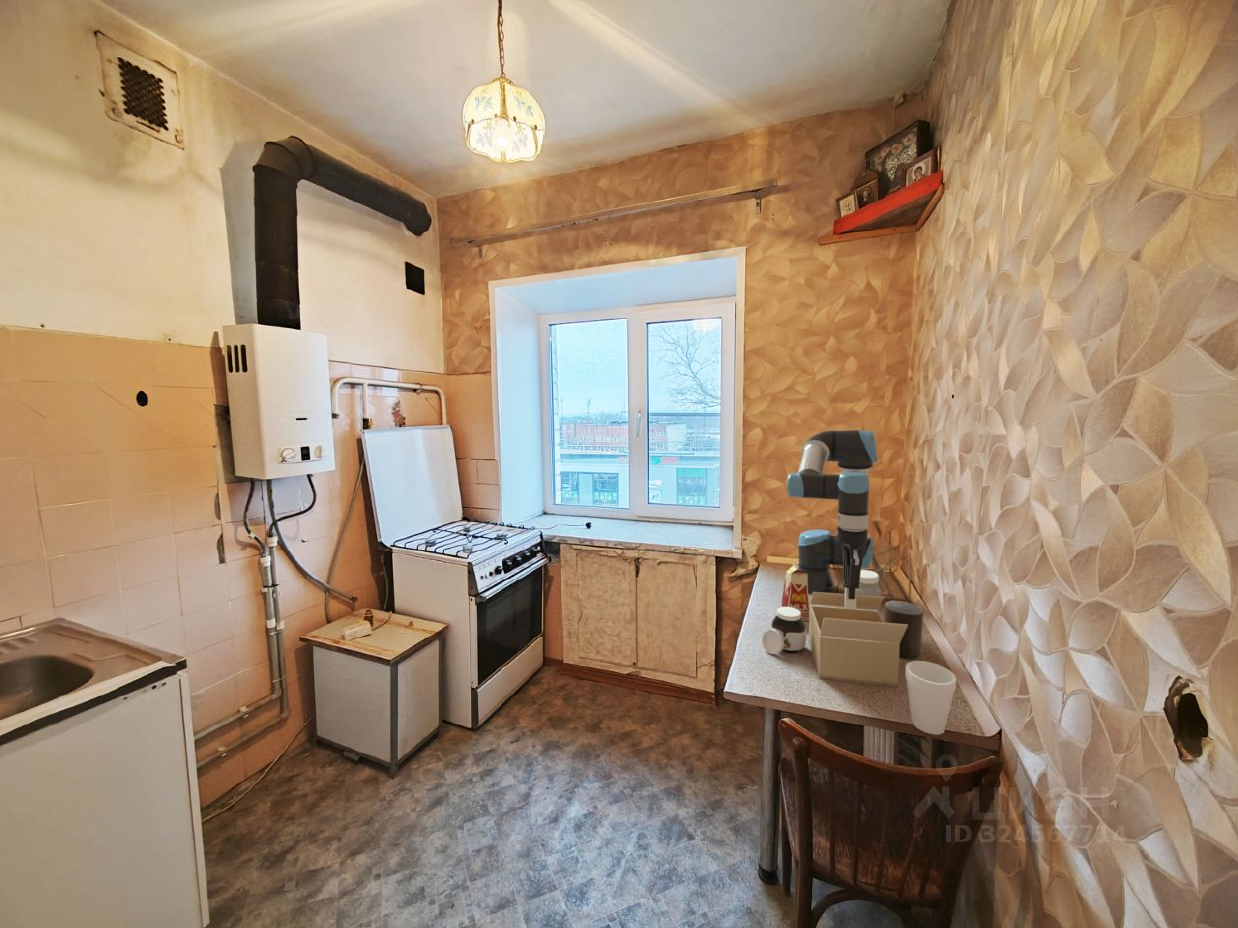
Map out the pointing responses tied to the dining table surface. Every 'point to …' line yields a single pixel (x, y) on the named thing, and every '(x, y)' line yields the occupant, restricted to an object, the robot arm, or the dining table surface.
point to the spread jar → (785, 632)
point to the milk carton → (796, 592)
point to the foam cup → (929, 695)
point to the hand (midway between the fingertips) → (850, 607)
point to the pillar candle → (913, 634)
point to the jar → (869, 585)
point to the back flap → (839, 600)
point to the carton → (852, 650)
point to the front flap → (863, 630)
